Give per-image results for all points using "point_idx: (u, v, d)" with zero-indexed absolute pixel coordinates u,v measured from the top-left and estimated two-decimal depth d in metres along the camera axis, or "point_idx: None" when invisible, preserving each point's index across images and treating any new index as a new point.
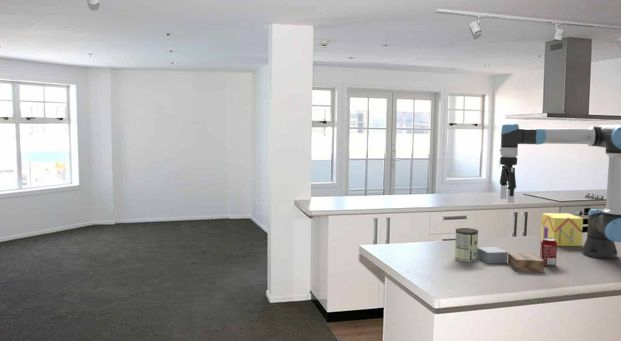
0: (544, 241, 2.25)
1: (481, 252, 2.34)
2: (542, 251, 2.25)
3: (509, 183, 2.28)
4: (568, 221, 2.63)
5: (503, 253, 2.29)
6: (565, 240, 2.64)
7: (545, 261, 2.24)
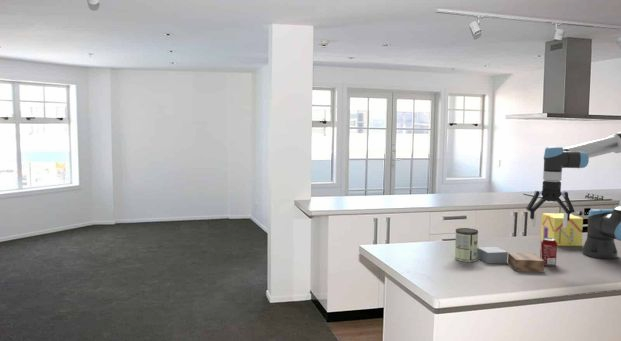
0: (544, 241, 2.25)
1: (481, 252, 2.34)
2: (542, 251, 2.25)
3: (534, 206, 2.26)
4: (568, 221, 2.63)
5: (503, 253, 2.29)
6: (565, 240, 2.64)
7: (545, 261, 2.24)
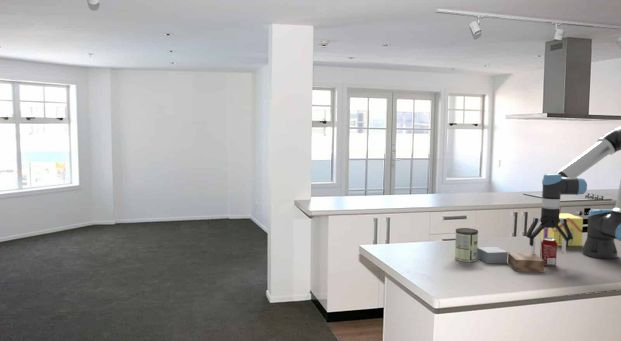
0: (544, 241, 2.25)
1: (481, 252, 2.34)
2: (542, 251, 2.25)
3: (533, 232, 2.27)
4: (568, 221, 2.63)
5: (503, 253, 2.29)
6: None
7: (545, 261, 2.24)
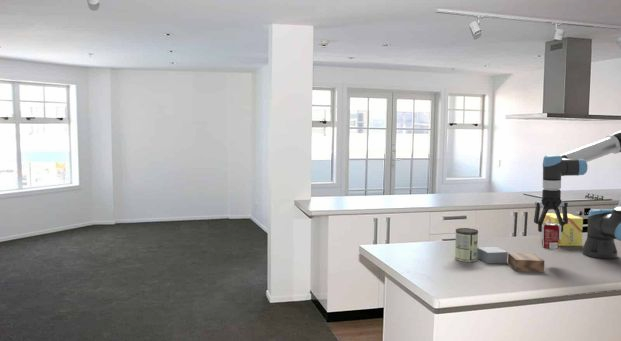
0: (546, 226, 2.24)
1: (481, 252, 2.34)
2: (544, 236, 2.25)
3: (539, 218, 2.27)
4: (568, 221, 2.63)
5: (503, 253, 2.29)
6: (565, 240, 2.64)
7: (547, 246, 2.24)
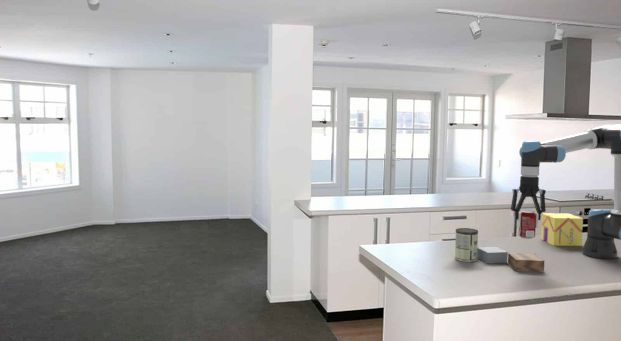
0: (522, 213, 2.18)
1: (481, 252, 2.34)
2: (521, 224, 2.19)
3: (517, 206, 2.21)
4: (568, 221, 2.63)
5: (503, 253, 2.29)
6: (565, 240, 2.64)
7: (523, 234, 2.18)
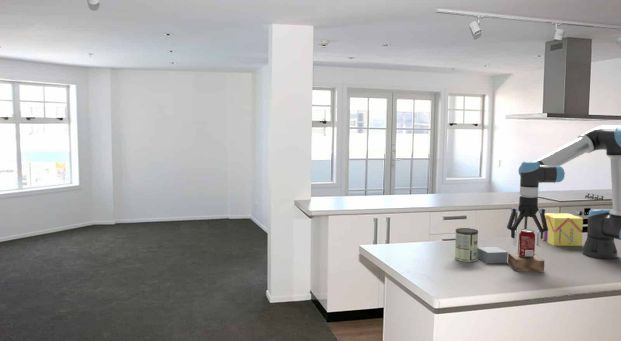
0: (522, 232, 2.19)
1: (481, 252, 2.34)
2: (520, 243, 2.20)
3: (513, 224, 2.21)
4: (568, 221, 2.63)
5: (503, 253, 2.29)
6: (565, 240, 2.64)
7: (522, 253, 2.19)
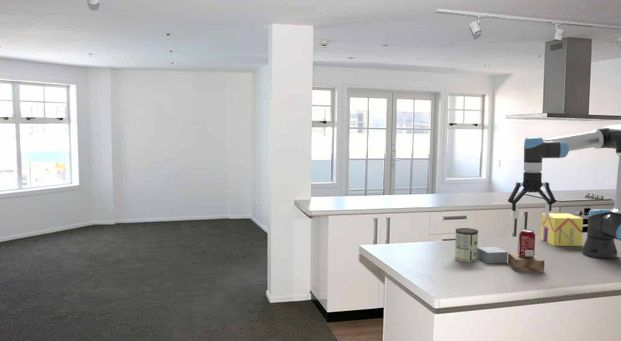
0: (522, 232, 2.19)
1: (481, 252, 2.34)
2: (520, 243, 2.20)
3: (515, 198, 2.24)
4: (568, 221, 2.63)
5: (503, 253, 2.29)
6: (565, 240, 2.64)
7: (522, 253, 2.19)
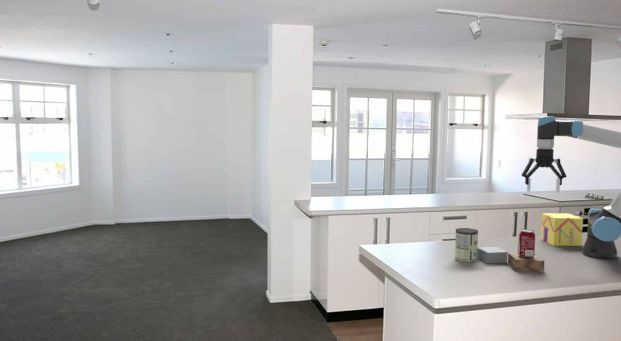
0: (522, 232, 2.19)
1: (481, 252, 2.34)
2: (520, 243, 2.20)
3: None
4: (568, 221, 2.63)
5: (503, 253, 2.29)
6: (565, 240, 2.64)
7: (522, 253, 2.19)
